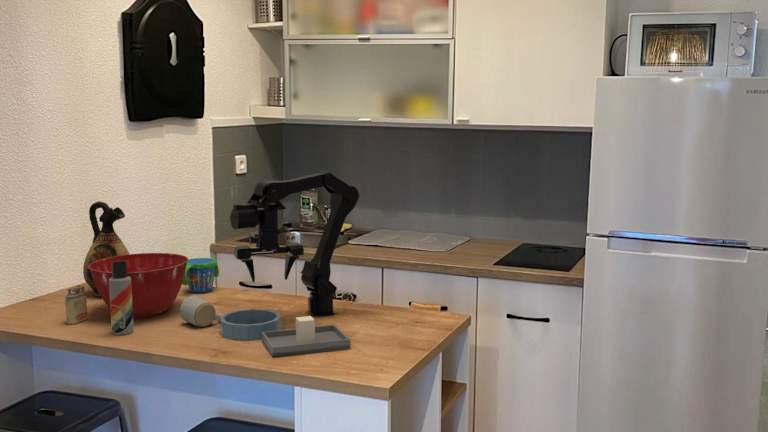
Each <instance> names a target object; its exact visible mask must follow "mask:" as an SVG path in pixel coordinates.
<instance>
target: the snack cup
mask: <svg viewBox="0 0 768 432" xmlns="http://www.w3.org/2000/svg"><path fill="white" fill-rule="evenodd" d="M219 276H220V270H219V266H218V262H217V260H216V259H214V258H211V257H196V258H190V259H189V258H188V261H187V265H186V270H185V275H184V279H183V282H182V285H183V286H188V290H189V291H190V292H191V293H193V294H195V293H196V294H202V293H209V292H212V291H213V287H214V280H215V278H218V277H219Z"/></svg>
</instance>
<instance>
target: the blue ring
mask: <svg viewBox="0 0 768 432" xmlns="http://www.w3.org/2000/svg"><path fill="white" fill-rule="evenodd" d="M220 316H221V317H220V321H219V331H220V334H221V336H222V337H224V338H227V339H230V340H233V341H234V340H235V341H236V340H238V341H239V340H240V341H254V340H262V334H261V332H267V331H277V330H282V315H281V314H280V312H278V311H274V310H270V309H261V308H258V309H257V308H251V309H239V310H238V309H237V310H233V311H230V312H227V313H224V314H223V315H220Z"/></svg>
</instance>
